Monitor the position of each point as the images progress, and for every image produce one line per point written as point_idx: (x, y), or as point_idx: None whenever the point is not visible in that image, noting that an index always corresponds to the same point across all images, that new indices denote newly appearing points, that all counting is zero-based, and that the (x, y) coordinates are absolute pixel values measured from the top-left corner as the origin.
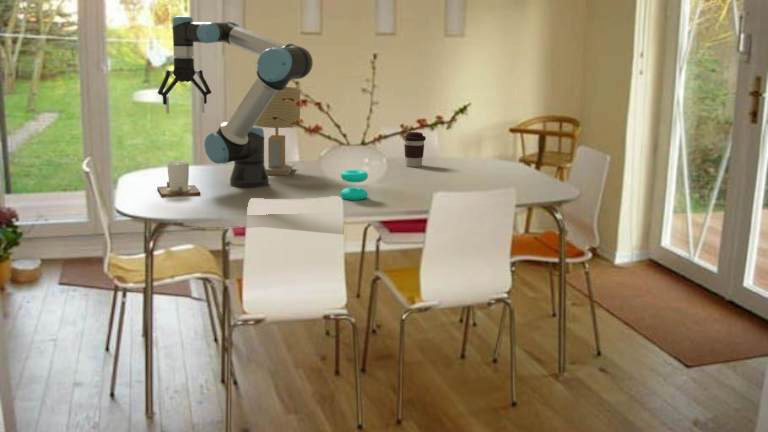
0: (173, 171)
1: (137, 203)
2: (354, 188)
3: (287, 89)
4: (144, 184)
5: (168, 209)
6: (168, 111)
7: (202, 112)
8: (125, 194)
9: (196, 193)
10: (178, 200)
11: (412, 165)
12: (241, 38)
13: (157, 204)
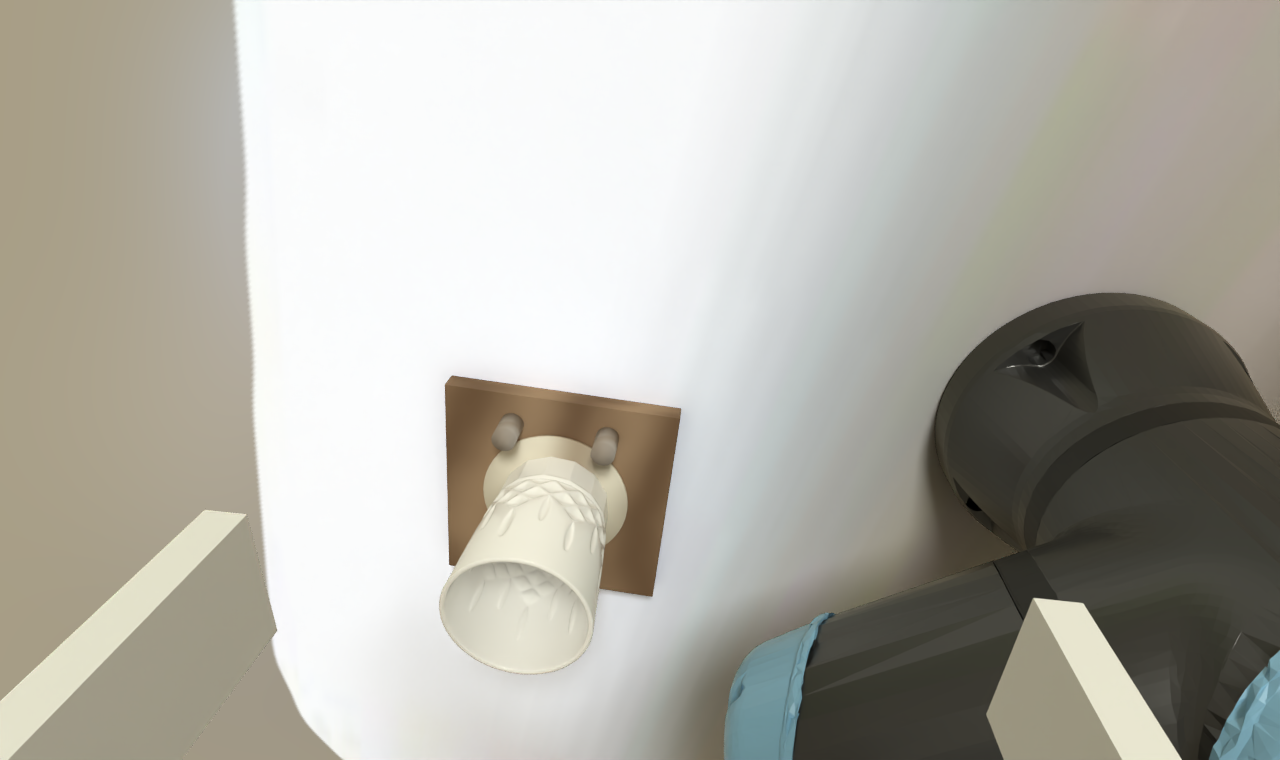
0: (488, 617)
1: (335, 616)
2: None
3: None
4: (383, 167)
5: (456, 740)
6: (237, 662)
7: (988, 715)
8: (270, 424)
9: (631, 589)
10: None
11: None
12: None
13: (420, 661)
